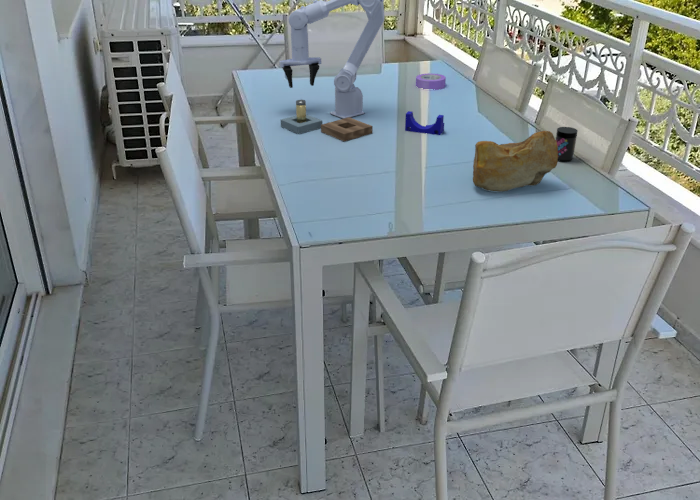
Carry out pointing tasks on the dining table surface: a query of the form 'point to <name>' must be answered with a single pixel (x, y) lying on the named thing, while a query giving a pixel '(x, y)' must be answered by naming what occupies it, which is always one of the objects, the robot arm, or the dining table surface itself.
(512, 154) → the rough brown rock
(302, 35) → the robot arm
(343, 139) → the socket block
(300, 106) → the spice jar
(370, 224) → the dining table surface
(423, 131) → the blue cradle block
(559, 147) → the supplement container
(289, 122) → the block
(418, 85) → the masking tape
